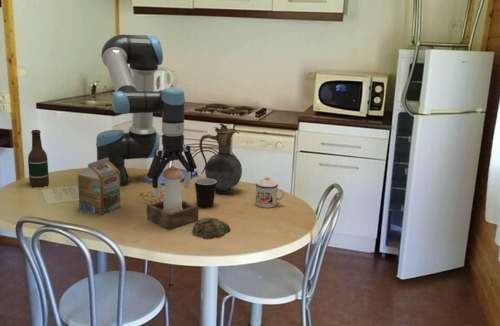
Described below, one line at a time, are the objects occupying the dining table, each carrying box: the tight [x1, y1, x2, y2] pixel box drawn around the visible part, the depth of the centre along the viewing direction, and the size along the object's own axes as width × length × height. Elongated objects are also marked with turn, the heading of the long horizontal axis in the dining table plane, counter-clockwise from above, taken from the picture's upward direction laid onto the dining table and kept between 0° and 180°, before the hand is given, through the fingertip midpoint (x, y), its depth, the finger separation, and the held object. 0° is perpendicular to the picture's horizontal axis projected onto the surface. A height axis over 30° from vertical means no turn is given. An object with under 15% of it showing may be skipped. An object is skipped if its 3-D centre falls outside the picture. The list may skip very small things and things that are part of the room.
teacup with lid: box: [254, 175, 286, 209], centre depth 194 cm, size 12×9×12 cm
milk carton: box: [77, 158, 122, 217], centre depth 180 cm, size 11×11×19 cm
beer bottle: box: [27, 129, 50, 188], centre depth 203 cm, size 8×8×24 cm
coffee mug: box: [194, 177, 217, 209], centre depth 191 cm, size 12×9×10 cm
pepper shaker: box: [162, 166, 183, 213], centre depth 171 cm, size 7×7×19 cm
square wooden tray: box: [146, 200, 199, 231], centre depth 173 cm, size 13×13×6 cm
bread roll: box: [191, 217, 231, 240], centre depth 165 cm, size 13×12×5 cm
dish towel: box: [139, 167, 199, 187], centre depth 225 cm, size 17×24×3 cm
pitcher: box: [198, 123, 243, 195], centre depth 206 cm, size 11×19×30 cm, turn 76°
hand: (172, 192), depth 171 cm, fingers open, 13 cm apart
